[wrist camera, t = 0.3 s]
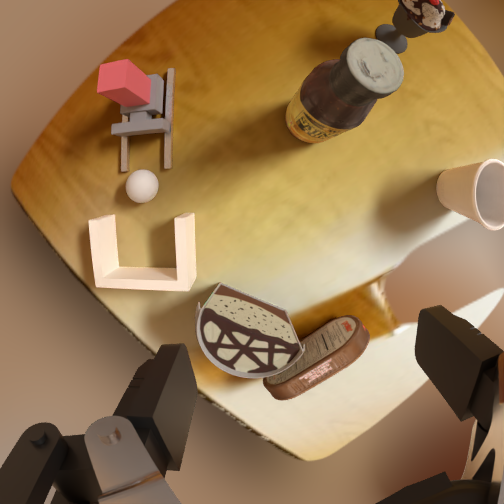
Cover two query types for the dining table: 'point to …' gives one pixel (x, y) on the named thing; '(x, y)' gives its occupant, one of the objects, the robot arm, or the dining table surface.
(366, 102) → the sauce bottle
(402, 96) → the dining table surface
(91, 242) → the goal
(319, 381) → the tin
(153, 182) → the sports ball
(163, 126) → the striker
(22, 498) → the robot arm
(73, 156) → the dining table surface
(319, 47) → the dining table surface
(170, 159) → the track
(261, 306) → the food container
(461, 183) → the dixie cup
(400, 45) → the sundae
